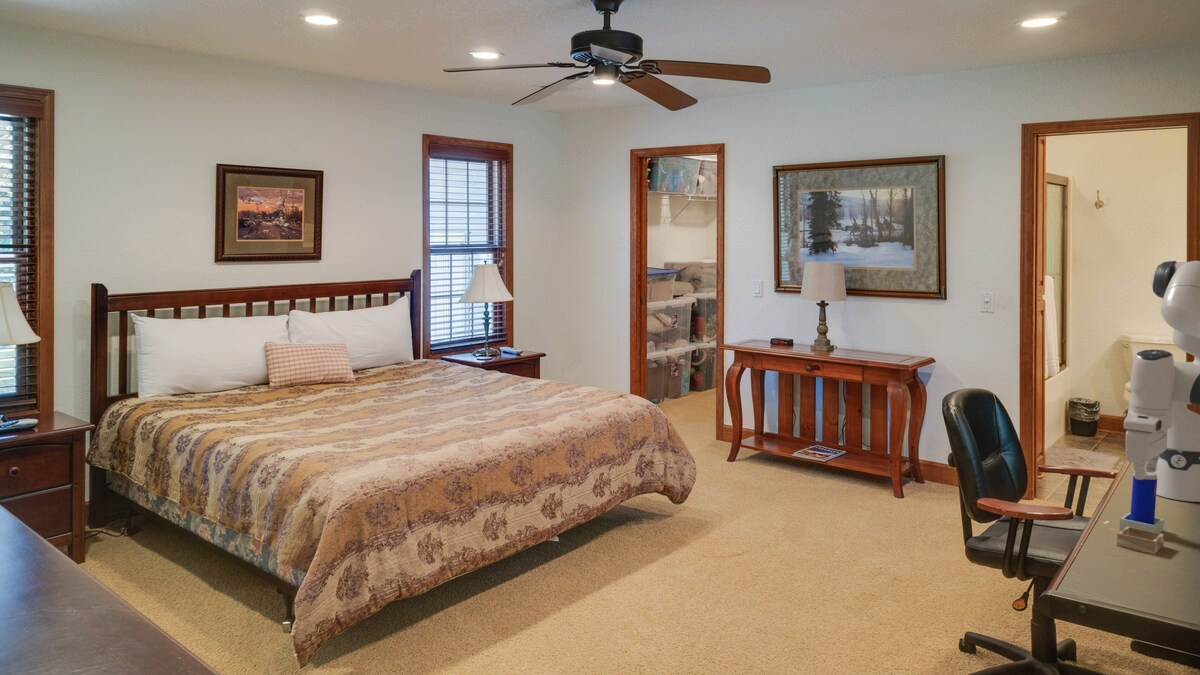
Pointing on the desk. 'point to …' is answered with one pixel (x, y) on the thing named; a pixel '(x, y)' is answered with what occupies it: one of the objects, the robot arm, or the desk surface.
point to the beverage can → (1144, 498)
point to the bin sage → (1142, 524)
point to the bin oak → (1140, 540)
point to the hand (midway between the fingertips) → (1145, 475)
